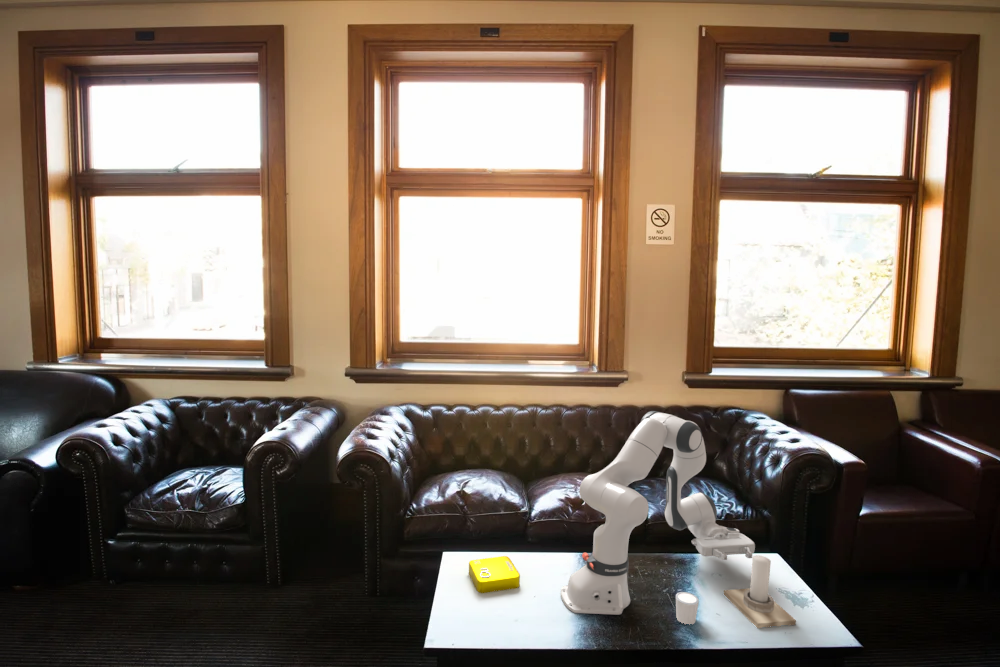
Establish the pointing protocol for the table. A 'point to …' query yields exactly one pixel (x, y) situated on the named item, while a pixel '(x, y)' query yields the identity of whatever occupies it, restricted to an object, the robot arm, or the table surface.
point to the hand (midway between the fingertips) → (737, 557)
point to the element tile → (494, 574)
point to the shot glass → (686, 607)
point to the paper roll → (760, 579)
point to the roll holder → (759, 609)
